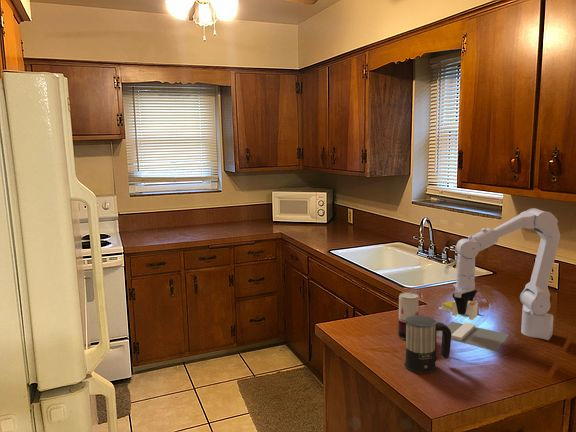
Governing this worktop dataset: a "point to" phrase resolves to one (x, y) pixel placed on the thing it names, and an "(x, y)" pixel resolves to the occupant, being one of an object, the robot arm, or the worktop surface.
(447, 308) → the emergency button
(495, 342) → the rail panel
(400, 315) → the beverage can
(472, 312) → the block
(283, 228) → the worktop surface
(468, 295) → the robot arm
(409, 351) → the milk frother
